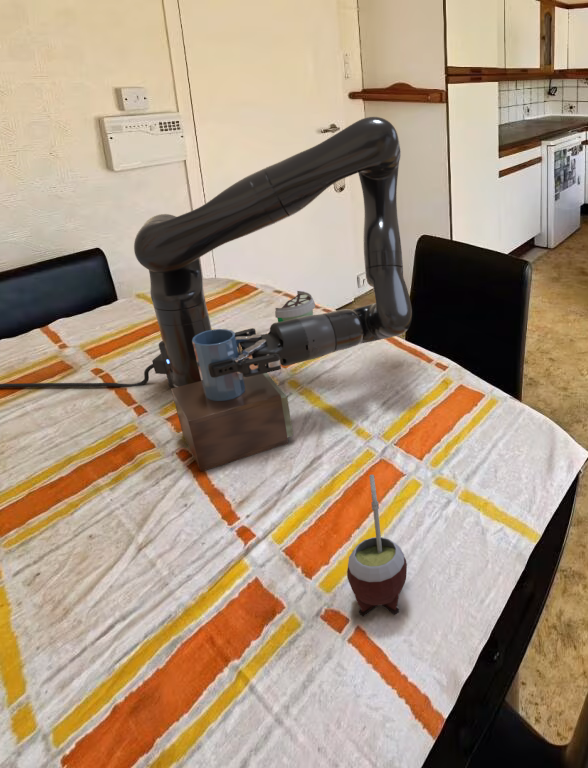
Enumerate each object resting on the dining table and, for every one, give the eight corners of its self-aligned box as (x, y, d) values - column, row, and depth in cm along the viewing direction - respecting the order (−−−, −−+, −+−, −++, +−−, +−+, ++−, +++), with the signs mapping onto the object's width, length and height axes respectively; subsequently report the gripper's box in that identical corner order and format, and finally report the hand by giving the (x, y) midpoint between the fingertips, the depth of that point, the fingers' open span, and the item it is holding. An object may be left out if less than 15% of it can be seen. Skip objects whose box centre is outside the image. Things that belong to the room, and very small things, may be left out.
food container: (306, 352, 139) (300, 310, 135) (280, 350, 140) (274, 308, 136) (327, 331, 150) (322, 291, 145) (303, 329, 151) (298, 289, 146)
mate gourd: (377, 633, 72) (367, 535, 65) (335, 598, 77) (321, 503, 70) (422, 596, 77) (418, 500, 70) (380, 565, 82) (372, 473, 75)
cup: (198, 400, 101) (184, 344, 97) (216, 381, 107) (204, 328, 102) (235, 402, 101) (224, 346, 96) (251, 383, 106) (241, 329, 102)
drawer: (278, 405, 117) (272, 368, 113) (300, 433, 108) (294, 394, 105) (196, 429, 110) (187, 390, 106) (213, 460, 101) (203, 420, 98)
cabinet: (265, 412, 116) (257, 366, 112) (288, 443, 107) (280, 395, 103) (183, 436, 109) (170, 388, 105) (200, 471, 100) (188, 421, 96)
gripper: (285, 306, 111) (188, 326, 103) (316, 333, 101) (210, 358, 93) (291, 344, 115) (197, 367, 107) (321, 374, 104) (220, 401, 96)
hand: (204, 362), depth 100 cm, fingers closed on cup, 6 cm apart
